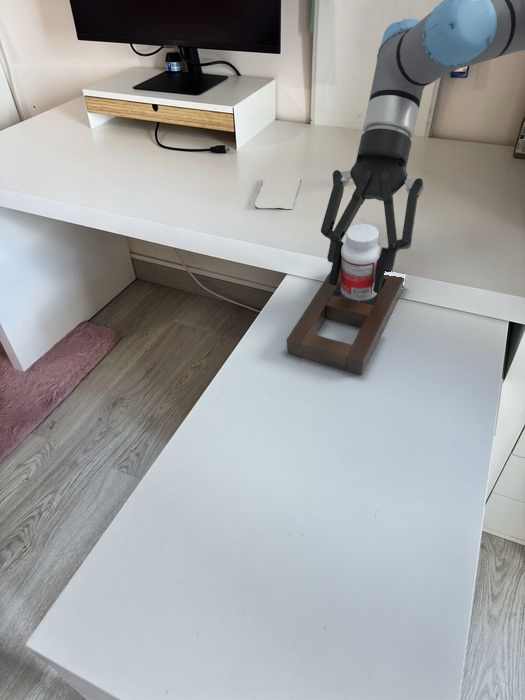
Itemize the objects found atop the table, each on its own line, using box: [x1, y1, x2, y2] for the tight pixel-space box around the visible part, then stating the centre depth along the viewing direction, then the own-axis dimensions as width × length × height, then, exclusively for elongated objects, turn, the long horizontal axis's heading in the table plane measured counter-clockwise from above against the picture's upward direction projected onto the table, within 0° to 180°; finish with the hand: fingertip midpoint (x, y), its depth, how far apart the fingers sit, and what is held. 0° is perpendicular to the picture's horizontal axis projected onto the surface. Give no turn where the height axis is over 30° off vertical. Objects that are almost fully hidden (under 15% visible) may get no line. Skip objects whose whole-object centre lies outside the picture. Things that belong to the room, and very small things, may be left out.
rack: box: [286, 267, 406, 376], centre depth 80 cm, size 12×21×3 cm, turn 152°
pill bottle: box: [341, 223, 383, 302], centre depth 78 cm, size 6×6×11 cm
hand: (354, 287), depth 77 cm, fingers closed on pill bottle, 6 cm apart
